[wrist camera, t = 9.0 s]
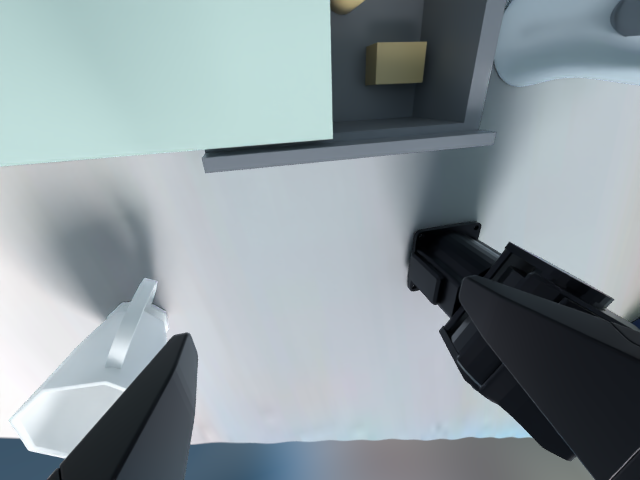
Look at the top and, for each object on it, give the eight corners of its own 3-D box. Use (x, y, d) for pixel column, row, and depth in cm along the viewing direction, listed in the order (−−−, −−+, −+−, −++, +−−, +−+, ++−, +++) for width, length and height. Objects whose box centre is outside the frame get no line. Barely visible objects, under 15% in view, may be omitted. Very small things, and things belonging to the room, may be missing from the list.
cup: (78, 346, 22) (0, 463, 15) (105, 240, 19) (23, 325, 12) (173, 359, 25) (146, 462, 18) (211, 269, 21) (195, 351, 15)
